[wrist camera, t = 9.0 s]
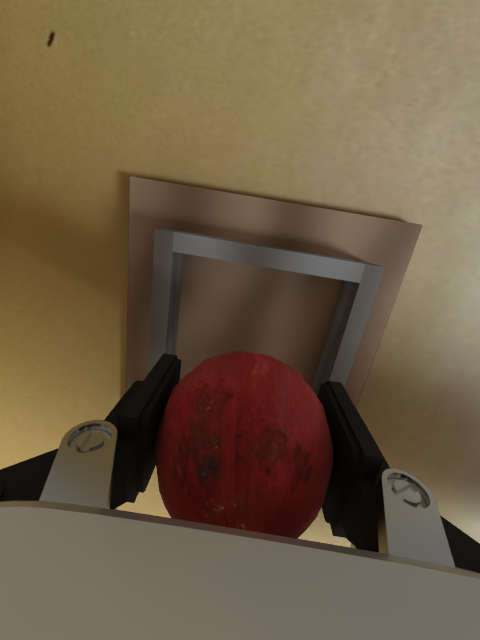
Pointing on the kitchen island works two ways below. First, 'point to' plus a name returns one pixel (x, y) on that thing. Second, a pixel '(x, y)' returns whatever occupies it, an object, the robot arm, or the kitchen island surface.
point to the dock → (259, 282)
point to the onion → (244, 446)
